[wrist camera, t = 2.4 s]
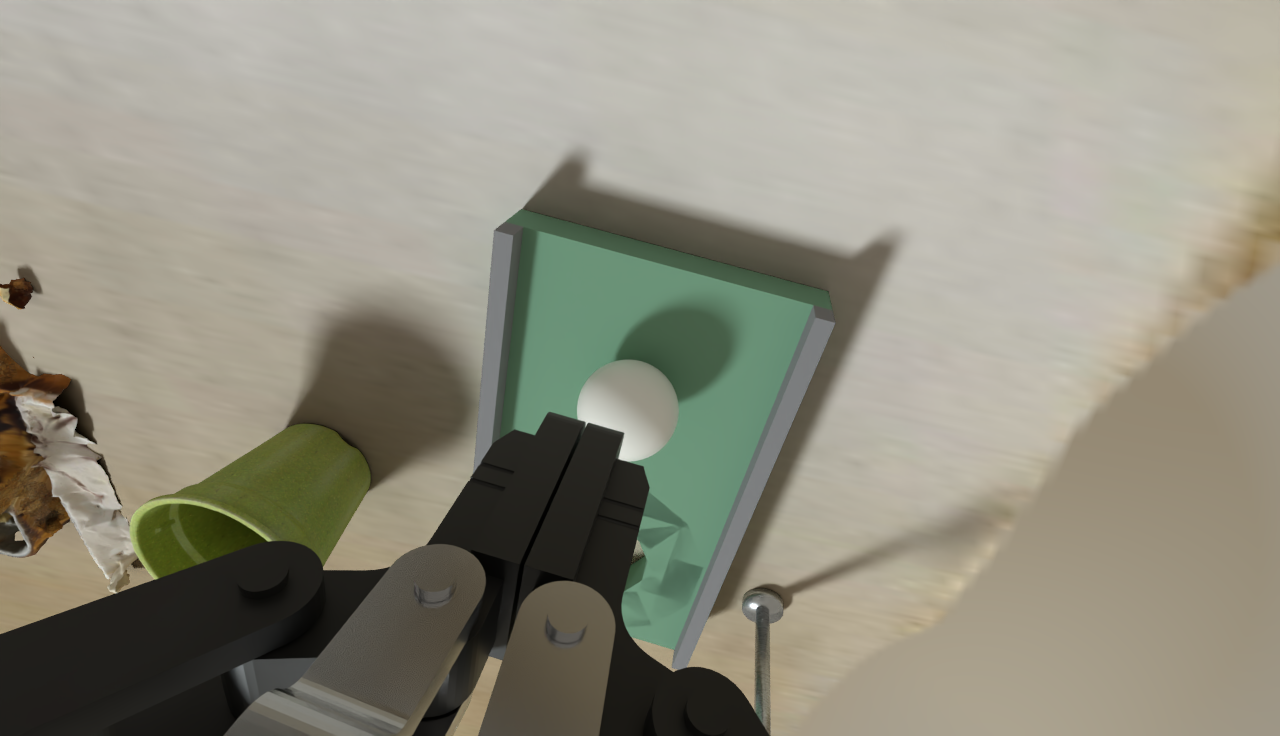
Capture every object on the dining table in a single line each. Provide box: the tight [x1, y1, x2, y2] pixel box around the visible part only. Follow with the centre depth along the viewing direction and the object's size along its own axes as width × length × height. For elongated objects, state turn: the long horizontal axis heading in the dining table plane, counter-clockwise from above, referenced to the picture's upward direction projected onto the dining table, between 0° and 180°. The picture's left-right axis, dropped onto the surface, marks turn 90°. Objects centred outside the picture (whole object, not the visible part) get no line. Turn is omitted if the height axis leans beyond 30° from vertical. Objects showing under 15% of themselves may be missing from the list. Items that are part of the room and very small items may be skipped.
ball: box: [577, 360, 679, 462], centre depth 26 cm, size 4×4×4 cm
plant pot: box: [129, 424, 371, 579], centre depth 34 cm, size 9×9×9 cm
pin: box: [742, 588, 783, 736], centre depth 31 cm, size 4×2×14 cm, turn 168°
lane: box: [473, 209, 835, 670], centre depth 32 cm, size 24×14×3 cm, turn 168°
